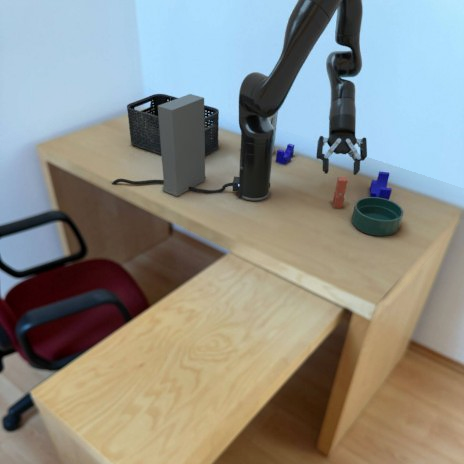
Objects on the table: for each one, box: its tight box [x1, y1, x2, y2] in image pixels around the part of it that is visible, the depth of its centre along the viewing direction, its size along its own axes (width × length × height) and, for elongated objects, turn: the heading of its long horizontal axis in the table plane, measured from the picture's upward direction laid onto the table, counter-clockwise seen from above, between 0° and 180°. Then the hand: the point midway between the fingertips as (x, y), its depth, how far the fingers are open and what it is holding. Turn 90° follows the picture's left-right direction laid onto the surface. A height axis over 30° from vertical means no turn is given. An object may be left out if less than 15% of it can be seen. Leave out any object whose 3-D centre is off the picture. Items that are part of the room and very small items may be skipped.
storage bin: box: [126, 93, 220, 157], centre depth 155 cm, size 29×19×13 cm
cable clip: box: [369, 170, 393, 200], centre depth 133 cm, size 12×4×6 cm, turn 169°
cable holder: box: [275, 143, 295, 165], centre depth 152 cm, size 8×4×4 cm, turn 142°
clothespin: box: [332, 176, 349, 209], centre depth 128 cm, size 2×3×8 cm
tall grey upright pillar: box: [158, 93, 207, 197], centre depth 129 cm, size 14×6×25 cm, turn 144°
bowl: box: [351, 196, 404, 237], centre depth 122 cm, size 13×13×5 cm
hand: (341, 173), depth 128 cm, fingers open, 8 cm apart
